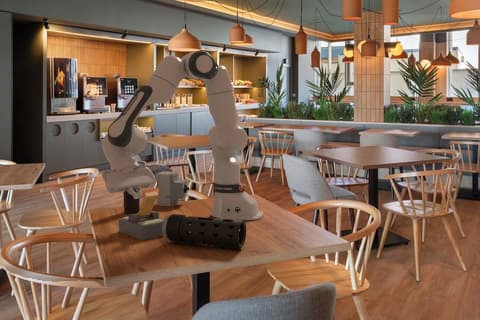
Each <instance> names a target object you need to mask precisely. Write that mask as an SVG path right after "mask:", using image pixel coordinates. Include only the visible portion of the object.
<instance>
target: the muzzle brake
mask: <svg viewBox="0 0 480 320" xmlns="http://www.w3.org/2000/svg"><path fill="white" fill-rule="evenodd" d="M163 219H164V221H163V224H162V234H163V238H164V239H166V240H168V241H170V242H176V243H182V245H188V246H192V245H193V244H198V245H199V244H200V245H207V247H215V248H225V249H232V250H234V249H235V250H241V249H242V247H243V246H244V245H245V243H246V239H247V225H246V222H245V221H246V220H230V219H219V218H216V217H207V216H206V217H204V216H202V217H201V216H193V215H189V216H186V215H185V214H179V213H177V214H176V213H173V214H171V215H165V217H164V218H163Z"/></svg>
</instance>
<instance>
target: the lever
mask: <svg viewBox="0 0 480 320" xmlns="http://www.w3.org/2000/svg"><path fill="white" fill-rule="evenodd" d="M158 195H159V192H157V190H155V191H149V192H144V195H143V196H144V197H143V199H142V202H141V205H140V210H139V213H136V215H139V216H140V219H144V218H149V217H151V211H153V208H154V206H155V204H156V202H157V197H158Z"/></svg>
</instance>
